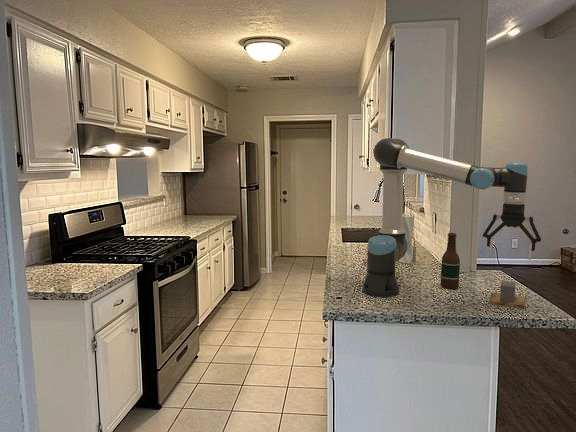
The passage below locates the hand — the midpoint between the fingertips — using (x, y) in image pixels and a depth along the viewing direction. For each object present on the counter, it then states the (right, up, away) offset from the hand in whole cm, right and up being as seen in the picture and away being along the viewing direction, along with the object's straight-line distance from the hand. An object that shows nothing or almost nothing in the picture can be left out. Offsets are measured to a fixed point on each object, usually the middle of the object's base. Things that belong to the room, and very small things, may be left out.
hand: (509, 256), depth 171 cm
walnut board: (0, -18, +2) cm, 18 cm away
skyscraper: (-23, -9, +65) cm, 70 cm away
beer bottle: (-15, -15, +22) cm, 31 cm away
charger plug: (0, -17, +2) cm, 17 cm away
